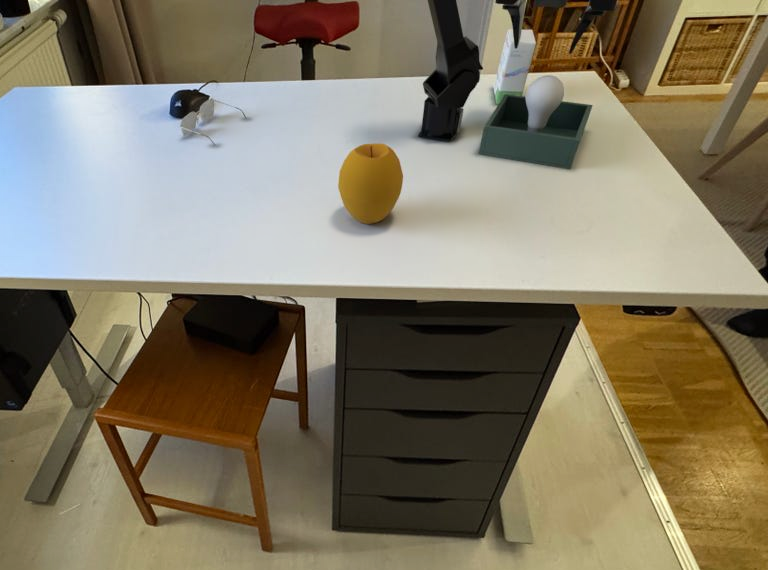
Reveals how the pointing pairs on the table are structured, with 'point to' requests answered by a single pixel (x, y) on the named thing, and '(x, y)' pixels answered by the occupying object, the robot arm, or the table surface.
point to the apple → (370, 182)
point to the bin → (534, 133)
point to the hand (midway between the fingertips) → (542, 50)
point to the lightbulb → (543, 101)
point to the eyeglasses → (190, 119)
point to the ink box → (514, 65)
